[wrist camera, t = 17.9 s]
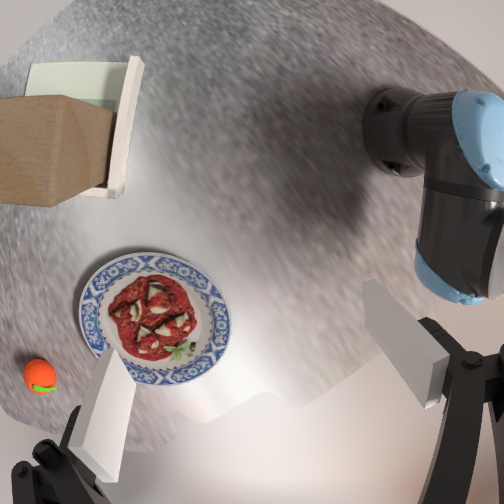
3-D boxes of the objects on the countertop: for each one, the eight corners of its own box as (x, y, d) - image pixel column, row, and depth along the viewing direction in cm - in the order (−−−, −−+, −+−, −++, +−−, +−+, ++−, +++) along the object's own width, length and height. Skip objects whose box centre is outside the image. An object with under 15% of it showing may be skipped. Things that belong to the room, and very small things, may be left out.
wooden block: (110, 180, 43) (53, 209, 24) (50, 176, 41) (-27, 202, 22) (118, 112, 40) (64, 93, 21) (57, 110, 38) (-20, 99, 19)
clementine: (63, 357, 52) (51, 380, 45) (67, 383, 54) (57, 407, 47) (28, 348, 50) (14, 370, 43) (34, 375, 52) (22, 397, 45)
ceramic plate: (56, 284, 47) (49, 292, 44) (190, 221, 48) (190, 226, 45) (131, 393, 56) (129, 403, 54) (252, 350, 57) (255, 360, 54)
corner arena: (145, 64, 39) (138, 56, 34) (123, 193, 44) (115, 198, 40) (33, 64, 35) (18, 58, 30) (16, 182, 41) (0, 187, 36)
